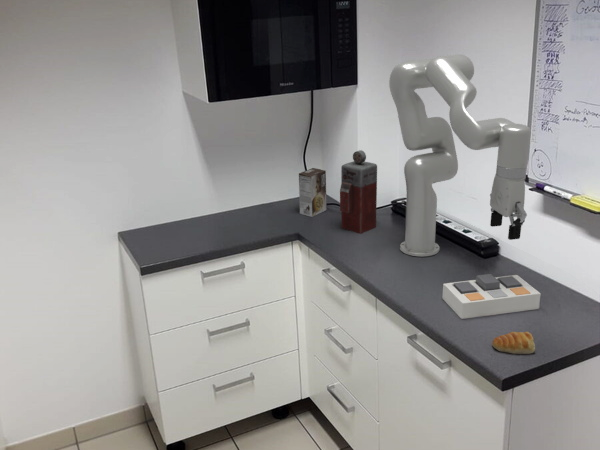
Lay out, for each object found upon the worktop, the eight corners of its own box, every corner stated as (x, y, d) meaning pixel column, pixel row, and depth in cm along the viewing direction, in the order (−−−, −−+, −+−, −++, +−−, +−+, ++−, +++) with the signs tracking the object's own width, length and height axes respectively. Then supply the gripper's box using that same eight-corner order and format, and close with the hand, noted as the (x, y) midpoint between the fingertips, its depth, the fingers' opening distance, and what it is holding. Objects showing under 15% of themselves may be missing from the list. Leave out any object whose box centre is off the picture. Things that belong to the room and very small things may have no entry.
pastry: (497, 356, 150) (498, 342, 149) (488, 341, 157) (489, 327, 155) (537, 354, 151) (538, 340, 149) (526, 340, 157) (528, 326, 156)
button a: (453, 295, 177) (453, 283, 175) (467, 293, 177) (468, 281, 176) (461, 303, 172) (462, 291, 171) (476, 301, 173) (476, 289, 171)
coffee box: (313, 207, 252) (313, 167, 246) (327, 210, 248) (326, 170, 243) (299, 213, 246) (297, 172, 240) (312, 217, 242) (311, 175, 236)
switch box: (442, 298, 178) (443, 283, 176) (515, 289, 182) (517, 274, 180) (461, 319, 167) (462, 302, 165) (538, 308, 171) (540, 292, 169)
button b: (475, 287, 177) (476, 275, 176) (489, 285, 178) (490, 273, 177) (484, 295, 173) (485, 283, 171) (498, 293, 173) (500, 281, 172)
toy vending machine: (336, 229, 229) (336, 152, 219) (357, 221, 236) (357, 146, 227) (356, 235, 223) (357, 156, 213) (376, 227, 231) (377, 150, 221)
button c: (496, 289, 179) (497, 277, 178) (510, 287, 180) (511, 276, 179) (506, 297, 174) (507, 285, 173) (520, 296, 175) (521, 284, 174)
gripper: (482, 164, 177) (477, 222, 183) (514, 182, 161) (508, 245, 167) (507, 162, 178) (501, 220, 184) (542, 180, 162) (534, 243, 169)
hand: (504, 232), depth 176 cm, fingers open, 9 cm apart
